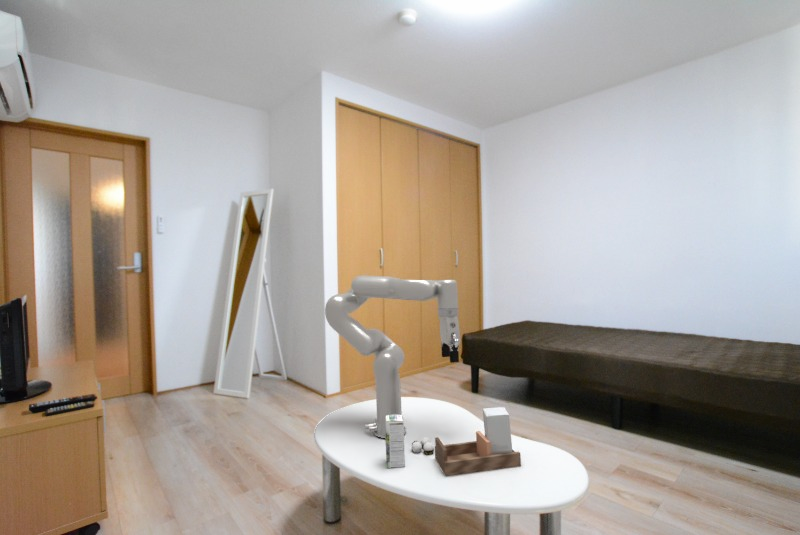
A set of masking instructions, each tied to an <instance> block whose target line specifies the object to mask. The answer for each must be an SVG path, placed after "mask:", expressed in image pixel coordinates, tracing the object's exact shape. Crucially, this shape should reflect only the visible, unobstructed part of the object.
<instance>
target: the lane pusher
mask: <svg viewBox="0 0 800 535" xmlns="http://www.w3.org/2000/svg"><path fill="white" fill-rule="evenodd" d="M475 438H476V440H475V441H476V443H477V453H478V454H479V455H480V456H489V455H491V443H490V441H489V440H488V439H487V438H486V437H485V434H483V433H482V432H481V431H480V430H477V431H475Z"/></svg>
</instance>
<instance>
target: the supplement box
mask: <svg viewBox="0 0 800 535" xmlns="http://www.w3.org/2000/svg"><path fill="white" fill-rule="evenodd" d="M482 415H483V416H482V417H483V418H482V419H483V428H484V436H485V437H486V438H487V439H488V440H489V441H490V443H491V455H496V454H504V453H511V452H512V449H513V442H512V432H511V422H510V414H509V412H508V411H507V409H506V408H505V406H503V407H501V406H499V407H487V408H486V407H483V408H482Z"/></svg>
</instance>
